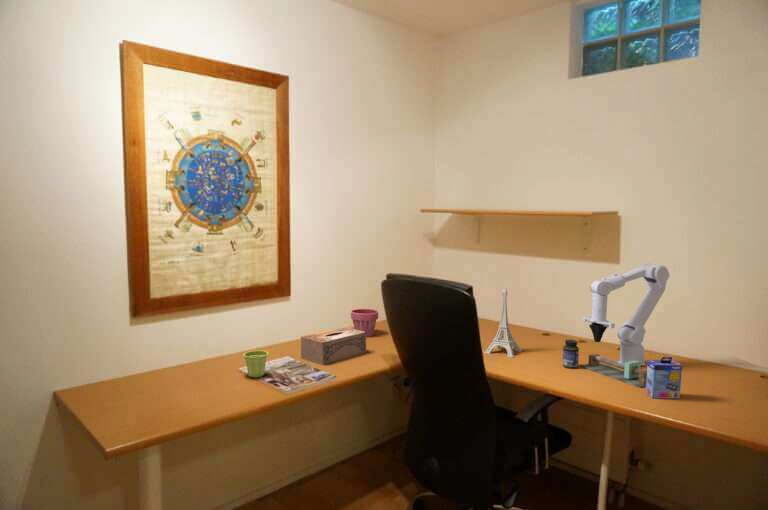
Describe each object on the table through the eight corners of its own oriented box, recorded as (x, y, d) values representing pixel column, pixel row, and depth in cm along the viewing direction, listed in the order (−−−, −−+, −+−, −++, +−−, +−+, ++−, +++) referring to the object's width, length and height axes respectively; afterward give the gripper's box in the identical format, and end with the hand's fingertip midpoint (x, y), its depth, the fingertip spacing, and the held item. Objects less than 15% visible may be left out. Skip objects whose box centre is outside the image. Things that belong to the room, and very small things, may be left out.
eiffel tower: (512, 357, 226) (514, 290, 223) (484, 353, 233) (485, 288, 230) (522, 350, 237) (523, 286, 235) (494, 346, 244) (495, 284, 242)
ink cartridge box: (652, 398, 177) (654, 357, 175) (644, 393, 182) (646, 353, 181) (681, 399, 176) (683, 358, 175) (672, 393, 182) (674, 353, 181)
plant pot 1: (246, 380, 194) (246, 358, 193) (241, 373, 202) (241, 352, 201) (271, 377, 198) (270, 355, 197) (265, 370, 206) (264, 349, 206)
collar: (624, 377, 196) (624, 362, 195) (634, 375, 199) (635, 360, 198) (628, 379, 194) (629, 363, 194) (639, 376, 197) (640, 361, 196)
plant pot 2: (382, 333, 269) (382, 309, 268) (371, 339, 256) (371, 314, 255) (358, 331, 274) (358, 307, 273) (346, 336, 262) (345, 312, 261)
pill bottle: (579, 369, 209) (580, 343, 208) (563, 368, 210) (564, 342, 209) (576, 365, 215) (577, 339, 214) (561, 364, 216) (562, 338, 215)
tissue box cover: (322, 366, 213) (322, 342, 212) (301, 359, 223) (300, 336, 222) (366, 353, 232) (366, 332, 231) (344, 347, 242) (344, 327, 241)
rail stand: (581, 366, 213) (581, 354, 212) (598, 363, 217) (599, 351, 216) (640, 387, 187) (640, 373, 187) (658, 384, 192) (659, 370, 191)
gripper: (578, 307, 217) (576, 338, 218) (606, 313, 203) (604, 346, 205) (590, 306, 220) (589, 337, 221) (619, 312, 206) (617, 345, 208)
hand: (597, 341), depth 213 cm, fingers closed
